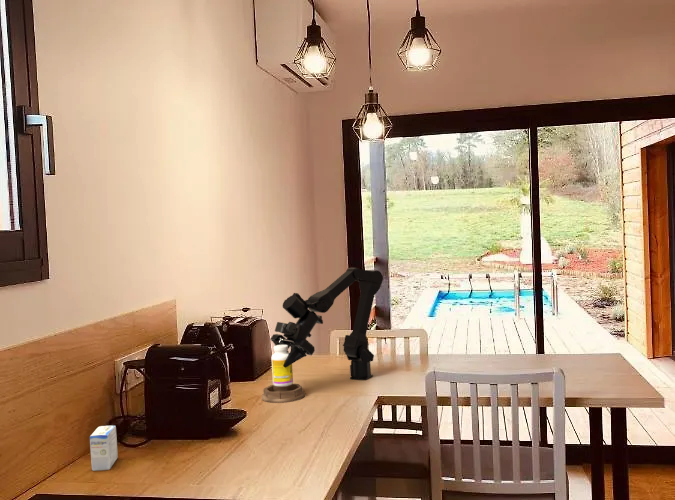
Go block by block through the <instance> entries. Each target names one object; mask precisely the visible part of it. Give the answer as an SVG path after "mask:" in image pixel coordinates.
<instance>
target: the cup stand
mask: <svg viewBox="0 0 675 500" xmlns="http://www.w3.org/2000/svg"><path fill="white" fill-rule="evenodd" d="M303 389H304V388H303V386H302V385H300V384H299V383H293V384H292V385H290V386H285V387H277V386H274V385H273V384H271V385H268V386H267V387H265V388H263V389H262V390H263V393H262V395H261V400H262V401H264V402H266V403H269V404H270V403H273V404H284V403H290V402H296V401H298V400H301V399H304V398H305V391H304V390H303Z"/></svg>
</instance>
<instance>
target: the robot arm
mask: <svg viewBox="0 0 675 500" xmlns="http://www.w3.org/2000/svg"><path fill="white" fill-rule="evenodd" d="M383 281H384V275H383V274H382V272H381V271H380V270H376V269H374V270H373V269H362V268H358V267H349V268H347V269H346V270H345V272H344V273H342V274H341V275H340V276H339V277H338V278H337V279H336V280H334V281H333V282H332V283H331V284H330V285H329V286H327V287H326V288H324V289H321V290H320V291H318V292H316V293H314V294H311V295H310V296H309V297H308V298H307V299H305V300H304V299H303V297H301V295H300V294H299V293H297V292H293V294H292V295H290V296H288V297H287V298H286V299H284V301H283V303H282V308H283V309H284V310H285V311H286V313H288V314H289V315H290V316H291V317H292V318H293V319H297V320H296V322H293V321H289V322H288V323H285V322H281V321H277V322H276V326H275V329H274V332H276V333H274V334H272V336H271V337H270V341H271V342H272V343H273V344H274V346H276V345H288V353H289V355H288V357H287V359H286V360H285V362H284V365H283V366H284V367H285V368H286V367H288V366H289V365H291V364H292V365H293V364H294V363H295V362H298V361H299V360H301V359H303V358H304V357H307V356H313V354H314V353H315V346H314V345H313V344H312V343H311V342H310V341H309V340H307V338H311V336H312V334H311V332H312V330H313V329H314V327H315V325H316V324H319V325H320V324H321V325H323V324H324V320H323V317H322V315H318V314H317V313H322V314H325V313H327V312H328V311H329V310H330V309H331V307H333V305H334V302H335V300H336V299H337V297H338V296H340V295H341V294H342V293H343V292H344V291H345V290H347V289H348V288H349V287H350V286H352V284H353V283H355V282H358V286H359V291H360V294H359V295H360V297H359V301H358V305H357V309H356V313H355V315H356V316H355V318H354V322H353V323H354V324H353V327H352V331H351V333H350V334H346V335H345V336H344V341H343V344H342V346H343V352H344V354H345V356H346V358H347V360H348V361H350V365H349V374H350V377H349V379H350V380H361V381H362V380H363V381H364V380H369V379H370V378H371V377H373V376H374V374H372V369H371V368H372V367H371V363H372V362H373V361H374V357H375V354H373V353H372V351H370V350H369V341H368V340H369V339H368V337H367V332H368V327H369V326H368V325H369V322H370V317H371V312H372V309H373V304H374V299H375V295H376V294H377V293H378V292H379V290H380V289H381V287H382V284H383ZM278 333H281V334H278ZM289 349H290V352H289ZM274 353H275V351H274ZM274 353H273V354H274Z"/></svg>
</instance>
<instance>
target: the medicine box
mask: <svg viewBox="0 0 675 500" xmlns="http://www.w3.org/2000/svg"><path fill="white" fill-rule="evenodd" d="M89 449H90V461H91V471H94V472H95V471H97V472H98V471H108V470H110V469H112V467H113V466H114V464H115V462H116V461H117V459H118V440H117V427H116V425H100V426H98V427H97V428H96V429H95V430H94V431H93V432H92V433H91V434H90V436H89Z"/></svg>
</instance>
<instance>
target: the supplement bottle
mask: <svg viewBox="0 0 675 500" xmlns="http://www.w3.org/2000/svg"><path fill="white" fill-rule="evenodd" d="M273 351H274V352H275V353H273V354H271V358H270V359H271V371H272V373H271V374H272V375H271V376H272V385H274V386H277V387H285V386H290V385H292V384H294V375H293V363H292V364H291V365H289V366H288V367H286V368H285V367H284V366H283V365H284V362H285V360H286V359H287V357H288V355H289V353H290V352H288V351H289V349H288V345H276V346H275V345H274V346H273Z"/></svg>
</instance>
